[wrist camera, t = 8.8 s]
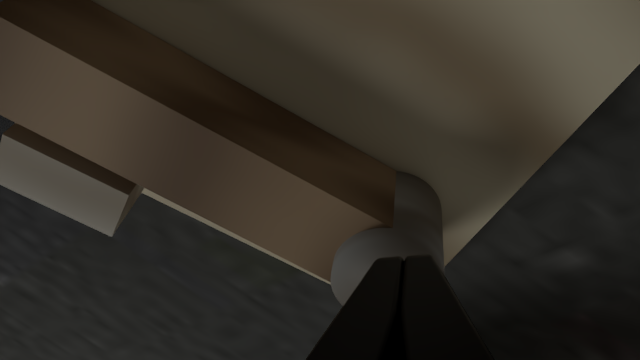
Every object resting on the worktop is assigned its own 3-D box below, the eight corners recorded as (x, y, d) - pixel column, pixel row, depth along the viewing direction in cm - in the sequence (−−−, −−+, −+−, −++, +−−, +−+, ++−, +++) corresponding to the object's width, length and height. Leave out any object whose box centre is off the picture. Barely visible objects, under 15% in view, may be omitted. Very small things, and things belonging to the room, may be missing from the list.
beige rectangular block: (398, 273, 25) (393, 379, 21) (49, 98, 23) (-41, 177, 18) (800, -174, 15) (962, -151, 10) (233, -597, 12) (124, -811, 8)
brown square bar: (462, 201, 20) (469, 276, 17) (405, 261, 22) (402, 338, 19) (49, -30, 17) (-28, 11, 14) (26, 61, 19) (-45, 114, 16)
